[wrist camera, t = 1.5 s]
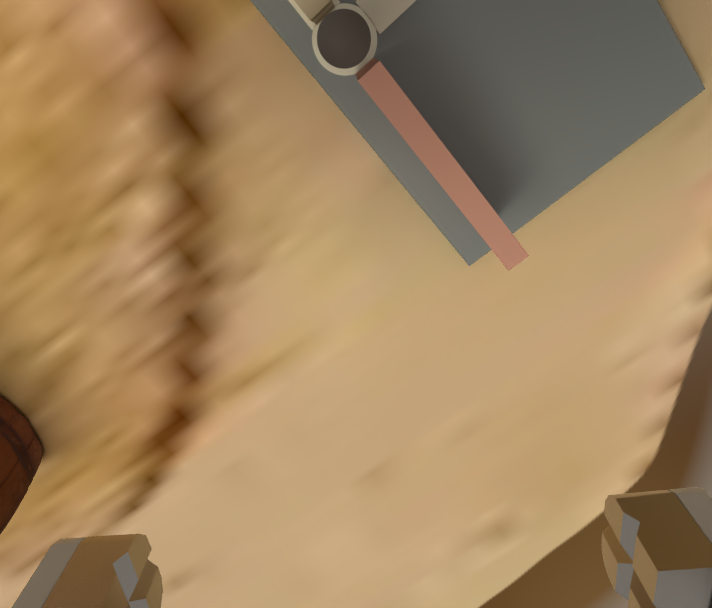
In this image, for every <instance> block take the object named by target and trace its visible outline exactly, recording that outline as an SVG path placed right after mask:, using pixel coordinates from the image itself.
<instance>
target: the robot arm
mask: <svg viewBox="0 0 712 608" xmlns="http://www.w3.org/2000/svg"><path fill="white" fill-rule="evenodd" d="M604 514H605V516H606V518H607V520H608V521H609V523H610V525H609V526H608V527H607V528H606V529H605V530H604V531H603V532H602V553H603V559H604V564H605V567H606V570H607V573H608V576H609V579H610V581H611V583H612V585H613V587H614V590H615V591H616V592H617V593H619V594H620V595H621V596H623V597H624V598H626V599H627V600H628V608H712V498H711V497H710V495H709V494H708V493H707V492H706V491H705V490H703V489H702V488H700V487H693V488H682V489H672V490H668V491H665V490H663V491H652V492H640V493H629V494H618V495H608V497H607V499H606V501H605V508H604ZM150 552H151V546H150V544H149V542H148V539H147V537H146V535H142V534H129V535H111V536H92V537H86V538H66V539H60V540H58V541H57V542H55V543H54V544H53V545H52V546H51V547H50V549H49V550H48V552H47V554H46V555H45V557H44V558H43V560H42V561H41V563H40V564H39V566H38V568H37V569H36V571H35V572H34V574H33V575H32V577H31V578H30V580H29V582H28V583H27V585H26V586H25V588H24V589H23V591H22V592H21V594H20V596H19V597H18V599H17V600H16V602H15V603H14V605H13V606H12V608H161V601H162V593H163V588H162V578H161V575H160V572H159V569H158V567H157V566H156V565H154V564H153V563H152V562H150V561H149V560H148V556H149V554H150Z"/></svg>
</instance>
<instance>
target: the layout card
mask: <svg viewBox="0 0 712 608" xmlns="http://www.w3.org/2000/svg"><path fill="white" fill-rule="evenodd" d="M332 1H333V4H334V7H335V8H334V9H333V10H332V11H334V10H338V9H350V10H353V11H355V12H357V13H358V14H360V15H361V16H362V17H363V18H364V19H365V21H366V22H367V24H368V26H369V29H370V33H371V45H370V49H369V51H368V54H367V55H366V57H365V58H364V60H363V61H362V62H361V63H359V64H358V65H356V66H354V67H352V68H347V69H341V68H337V67H334V66H332V65H330V64H329V63H328V62H326V61H325V59H324V58H323V57H322V55H321V54H320V51H319V49H318V45H317V32H318V28H319V25H320V23H321V22H322V21H321V22H320V23H319V24H318V25H316V24H315V23H313V22H312V21H310V20H309V19H308V17H307V16H306V15H305V13H304V12H303V11H302V10H301V8H300V7H299V6H298V5H297V3H296V2H295V1H294V0H251V2H252V3H253V4H254V5H255V7H256V8H257V9H258V10H259V11H260V13H261V14H262V15H263V16H264V17H265V19H266V20H267V21H268V22H269V24H270V25H271V26H272V27H273V28H274V30H275V31H276V32H277V33H278V34H279V36H280V37H281V38H282V39H283V40H284V42H285V43H286V44H287V45H288V47H289V48H290V49H291V50H292V51H293V53H294V54H295V55H296V56H297V57H298V59H299V60H300V61H301V62H302V64H303V65H304V66H305V67H306V68H307V70H308V71H309V72H310V73H311V74H312V76H313V77H314V78H315V79H316V81H317V82H318V83H319V84H320V85H321V87H322V88H323V89H324V90H325V91H326V93H327V94H328V95H329V96H330V98H331V99H332V100H333V101H334V102H335V104H336V105H337V106H338V107H339V108H340V110H341V111H342V112H343V113H344V115H345V116H346V117H347V118H348V119H349V121H350V122H351V123H352V124H353V125H354V127H355V128H356V129H357V130H358V132H359V133H360V134H361V135H362V136H363V138H364V139H365V140H366V141H367V142H368V144H369V145H370V146H371V147H372V148H373V150H374V151H375V152H376V153H377V155H378V156H379V157H380V158H381V159H382V161H383V162H384V163H385V164H386V165H387V167H388V168H389V169H390V170H391V172H392V173H393V174H394V175H395V176H396V178H397V179H398V180H399V181H400V182H401V184H402V185H403V186H404V187H405V189H406V190H407V191H408V192H409V193H410V195H411V196H412V197H413V198H414V199H415V201H416V202H417V203H418V204H419V206H420V207H421V208H422V209H423V210H424V212H425V213H426V214H427V215H428V216H429V218H430V219H431V220H432V221H433V223H434V224H435V225H436V226H437V227H438V229H439V230H440V231H441V232H442V233H443V235H444V236H445V237H446V238H447V240H448V241H449V242H450V243H451V244H452V246H453V247H454V248H455V249H456V250H457V252H458V253H459V254H460V255H461V256H462V258H463V259H464V260H465V261H466V263H467V264H468V265H469V266H470V265H471V264H473V263H474V262H475V261H477V260H478V259H479V258H481V257H482V256H483V255H485V254H486V253H487V252H489V251H490V250H491V248H490V247H489V246H488V244H487V243H486V242H485V241H484V239H483V238H482V237H481V236H480V234H479V233H478V232H477V231H476V229H475V228H474V227H473V225H472V224H471V223H470V222H469V220H468V219H467V218H466V217H465V215H464V214H463V213H462V212H461V210H460V209H459V208H458V207H457V205H456V204H455V203H454V202H453V200H452V199H451V198H450V197H449V195H448V194H447V193H446V191H445V190H444V189H443V188H442V186H441V185H440V184H439V183H438V181H437V180H436V179H435V178H434V176H433V175H432V174H431V173H430V171H429V170H428V169H427V168H426V166H425V165H424V164H423V163H422V161H421V160H420V159H419V157H418V156H417V155H416V154H415V152H414V151H413V150H412V149H411V147H410V146H409V145H408V144H407V142H406V141H405V140H404V139H403V137H402V136H401V135H400V134H399V132H398V131H397V130H396V129H395V127H394V126H393V125H392V123H391V122H390V121H389V120H388V118H387V117H386V116H385V115H384V113H383V112H382V111H381V110H380V108H379V107H378V106H377V105H376V103H375V102H374V101H373V100H372V98H371V97H370V96H369V95H368V93H367V92H366V91H365V89H364V88H363V87H362V86H361V84H360V83H359V82H358V80H357V77H356V73H357V72H358V71H359V70H360V69H361V68H362V67H364V66H365V65H366V64H367V63H368V62H369V61H370V60H371V59H372V58H373V57H374V58H375V59H377V60H379V61H380V62H381V63H382V65H383V66H384V67H385V68H386V70H387V71H388V72H389V74H390V75H391V76H392V78H393V79H394V80H395V81H396V83H397V84H398V85H399V87H400V88H401V89H402V91H403V92H404V93H405V95H406V96H407V97H408V98H409V100H410V101H411V102H412V104H413V105H414V106H415V108H416V109H417V110H418V111H419V113H420V114H421V115H422V117H423V118H424V119H425V121H426V122H427V123H428V125H429V126H430V127H431V128H432V130H433V131H434V132H435V134H436V135H437V136H438V138H439V139H440V140H441V141H442V143H443V144H444V145H445V147H446V148H447V149H448V151H449V152H450V153H451V155H452V156H453V157H454V158H455V160H456V161H457V162H458V164H459V165H460V166H461V168H462V169H463V170H464V171H465V173H466V174H467V175H468V177H469V178H470V179H471V181H472V182H473V183H474V184H475V186H476V187H477V188H478V190H479V191H480V192H481V194H482V195H483V196H484V198H485V199H486V200H487V201H488V203H489V204H490V205H491V207H492V208H493V209H494V211H495V212H496V213H497V214H498V216H499V217H500V218H501V220H502V221H503V222H504V224H505V225H506V226H507V228H508V229H509V230H510V231H511V233H512V234H513V233H514V232H515V231H517V230H518V229H519V228H521V227H522V226H523V225H525V224H526V223H527V222H529V221H530V220H531V219H533V218H534V217H535V216H537V215H538V214H539V213H541V212H542V211H543V210H545V209H546V208H547V207H549V206H550V205H551V204H553V203H554V202H555V201H557V200H558V199H559V198H561V197H562V196H563V195H565V194H566V193H567V192H569V191H570V190H571V189H573V188H574V187H575V186H577V185H578V184H579V183H581V182H582V181H583V180H585V179H586V178H587V177H589V176H590V175H591V174H593V173H594V172H595V171H597V170H598V169H599V168H601V167H602V166H603V165H605V164H606V163H607V162H609V161H610V160H611V159H613V158H614V157H615V156H617V155H618V154H619V153H621V152H622V151H623V150H625V149H626V148H627V147H629V146H630V145H631V144H633V143H634V142H635V141H637V140H638V139H639V138H641V137H642V136H643V135H645V134H646V133H647V132H649V131H650V130H651V129H653V128H654V127H655V126H657V125H658V124H659V123H661V122H662V121H663V120H665V119H666V118H667V117H669V116H670V115H671V114H673V113H674V112H675V111H677V110H678V109H679V108H681V107H682V106H683V105H685V104H686V103H687V102H689V101H690V100H691V99H693V98H694V97H695V96H697V95H698V94H699V93H701V92H702V91H703V90H705V88H704V86H703V84H702V82H701V80H700V78H699V76H698V75H697V73H696V71H695V69H694V67H693V65H692V64H691V62H690V60H689V58H688V56H687V54H686V53H685V51H684V49H683V47H682V45H681V43H680V42H679V40H678V38H677V36H676V34H675V32H674V31H673V29H672V27H671V25H670V23H669V21H668V19H667V18H666V16H665V14H664V12H663V10H662V8H661V7H660V5H659V3H658V1H657V0H332ZM332 11H331V12H332ZM331 12H330V13H331Z"/></svg>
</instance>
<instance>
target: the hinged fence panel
mask: <svg viewBox="0 0 712 608" xmlns="http://www.w3.org/2000/svg"><path fill="white" fill-rule="evenodd" d="M356 77H357V80H358V82H359V83H360V84H361V86H362V87H363V88H364V89H365V91H366V92H367V93H368V95H369V96H370V97H371V98H372V100H373V101H374V102H375V103H376V105H377V106H378V107H379V108H380V110H381V111H382V112H383V113H384V115H385V116H386V117H387V118H388V120H389V121H390V122H391V123H392V125H393V126H394V127H395V129H396V130H397V131H398V132H399V134H400V135H401V136H402V137H403V139H404V140H405V141H406V142H407V144H408V145H409V146H410V147H411V149H412V150H413V151H414V152H415V154H416V155H417V156H418V157H419V159H420V160H421V161H422V163H423V164H424V165H425V166H426V168H427V169H428V170H429V171H430V173H431V174H432V175H433V176H434V178H435V179H436V180H437V181H438V183H439V184H440V185H441V186H442V188H443V189H444V190H445V191H446V193H447V194H448V195H449V197H450V198H451V199H452V200H453V202H454V203H455V204H456V205H457V207H458V208H459V209H460V210H461V212H462V213H463V214H464V215H465V217H466V218H467V219H468V220H469V222H470V223H471V224H472V225H473V227H474V228H475V229H476V231H477V232H478V233H479V234H480V236H481V237H482V238H483V239H484V241H485V242H486V243H487V244H488V246H489V247H490V248H491V249H492V251H493V252H494V253H495V254H496V256H497V257H498V258H499V259H500V261H501V262H502V263H503V265H504V266H505V267H506V268H507V270H508V271H509V270H510V269H512V268H513V267H514V266H516V265H517V264H518V263H520V262H521V261H523V260H524V259H525V258H527V257H528V256H529V255H528V254H527V252H526V251H525V250H524V248H523V247H522V246H521V244H520V243H519V242H518V241H517V239H516V238H515V237H514V235H513V234H512V233H511V231H510V230H509V229H508V228H507V226H506V225H505V224H504V222H503V221H502V220H501V218H500V217H499V216H498V214H497V213H496V212H495V211H494V209H493V208H492V207H491V205H490V204H489V203H488V201H487V200H486V199H485V198H484V196H483V195H482V194H481V192H480V191H479V190H478V188H477V187H476V186H475V184H474V183H473V182H472V181H471V179H470V178H469V177H468V175H467V174H466V173H465V171H464V170H463V169H462V168H461V166H460V165H459V164H458V162H457V161H456V160H455V158H454V157H453V156H452V155H451V153H450V152H449V151H448V149H447V148H446V147H445V145H444V144H443V143H442V141H441V140H440V139H439V138H438V136H437V135H436V134H435V132H434V131H433V130H432V128H431V127H430V126H429V125H428V123H427V122H426V121H425V119H424V118H423V117H422V115H421V114H420V113H419V111H418V110H417V109H416V108H415V106H414V105H413V104H412V102H411V101H410V100H409V98H408V97H407V96H406V95H405V93H404V92H403V91H402V89H401V88H400V87H399V85H398V84H397V83H396V81H395V80H394V79H393V78H392V76H391V75H390V74H389V72H388V71H387V70H386V68H385V67H384V66H383V65H382V63H381V62H380V61H379V60H377V59H375V58H374V57H373V58H372V59H371V60H370V61H369V62H368V63H367V64H366V65H365V66H364V67H362V68H361V69H360V70H359V71H358V72H357V73H356Z"/></svg>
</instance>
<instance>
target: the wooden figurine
mask: <svg viewBox="0 0 712 608" xmlns="http://www.w3.org/2000/svg"><path fill="white" fill-rule="evenodd" d="M41 459H42V446H41V444H40V442H39V440H38V439H37V438H36V436H35V434H34V432H33V430H32V428H31V426H30V424H29V422H28V421H27V420H26V418H25V417H24V416H23V415H22V414H20V413H19V412H18V411H17V410H16V409H15V408H14V407H13V406H12V404H11V403H10V402H8V401H7V400H5V399H4V398H2V397H0V534H1V533H2V531H3V530H4V528H5V527H6V526H7V524H8V522H9V521H10V519H11V518H12V516H13V515H14V513H15V511H16V510H17V508H18V506H19V505H20V503H21V501H22V499H23V498H24V496H25V494H26V492H27V490H28V487H29V485H30V484H31V482H32V480H33V477H34V476H35V474H36V472H37V469H38V467H39V465H40V462H41Z"/></svg>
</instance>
